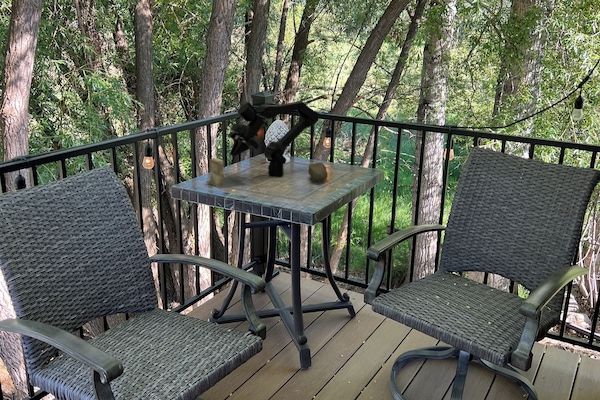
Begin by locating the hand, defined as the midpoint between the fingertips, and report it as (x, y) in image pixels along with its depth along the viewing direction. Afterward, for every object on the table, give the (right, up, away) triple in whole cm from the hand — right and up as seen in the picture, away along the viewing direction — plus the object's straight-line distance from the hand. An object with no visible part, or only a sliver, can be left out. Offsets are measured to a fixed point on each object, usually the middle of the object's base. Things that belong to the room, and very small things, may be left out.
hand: (231, 155), depth 258 cm
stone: (+38, -11, +9) cm, 41 cm away
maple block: (-6, -13, 0) cm, 14 cm away
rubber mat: (-3, -13, +2) cm, 13 cm away
